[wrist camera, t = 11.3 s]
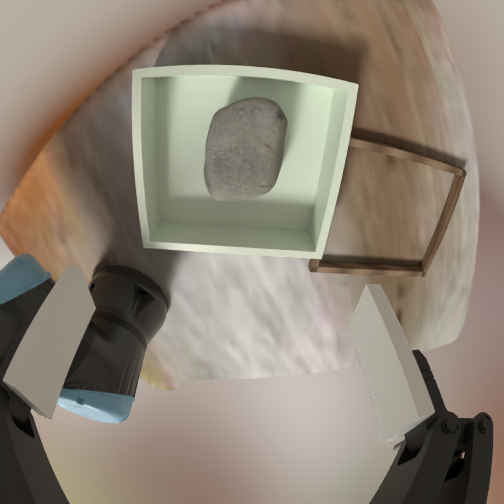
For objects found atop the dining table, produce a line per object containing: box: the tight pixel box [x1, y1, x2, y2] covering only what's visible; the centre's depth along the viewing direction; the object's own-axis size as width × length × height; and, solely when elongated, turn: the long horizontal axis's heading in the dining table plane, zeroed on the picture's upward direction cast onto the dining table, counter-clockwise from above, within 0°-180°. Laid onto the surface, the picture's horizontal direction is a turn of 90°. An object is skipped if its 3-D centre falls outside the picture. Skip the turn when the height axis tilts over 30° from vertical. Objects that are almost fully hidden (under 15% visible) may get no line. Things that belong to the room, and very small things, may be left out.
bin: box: [132, 65, 359, 259], centre depth 29 cm, size 22×21×6 cm
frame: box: [308, 137, 467, 277], centre depth 36 cm, size 22×20×2 cm
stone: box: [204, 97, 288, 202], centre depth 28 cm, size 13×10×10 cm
